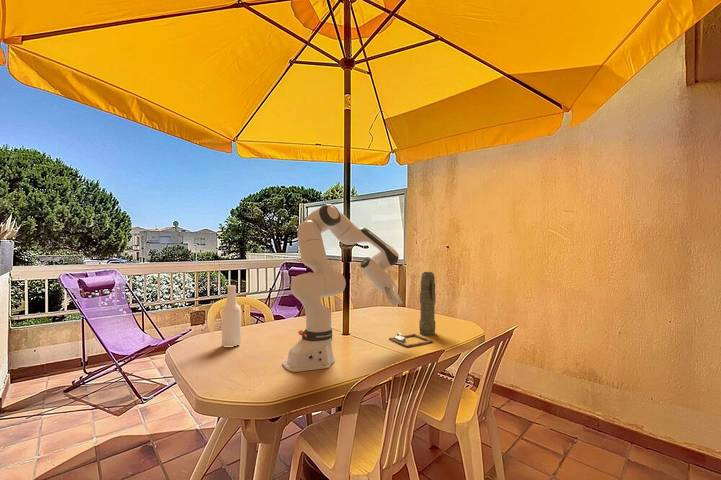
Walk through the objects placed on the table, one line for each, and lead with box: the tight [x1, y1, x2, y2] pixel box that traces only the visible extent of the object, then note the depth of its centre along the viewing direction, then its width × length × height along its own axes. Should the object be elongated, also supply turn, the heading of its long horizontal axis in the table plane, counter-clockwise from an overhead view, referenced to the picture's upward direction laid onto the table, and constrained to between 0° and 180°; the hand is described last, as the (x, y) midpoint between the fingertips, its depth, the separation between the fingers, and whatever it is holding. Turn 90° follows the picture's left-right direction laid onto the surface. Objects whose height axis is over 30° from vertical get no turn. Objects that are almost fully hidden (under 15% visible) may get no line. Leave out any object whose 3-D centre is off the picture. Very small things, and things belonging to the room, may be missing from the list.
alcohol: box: [221, 284, 242, 347], centre depth 171 cm, size 9×9×30 cm
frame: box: [388, 333, 433, 349], centre depth 181 cm, size 17×15×1 cm
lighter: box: [394, 332, 407, 343], centre depth 184 cm, size 7×2×8 cm
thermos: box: [418, 271, 437, 336], centre depth 197 cm, size 9×12×35 cm
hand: (401, 303), depth 179 cm, fingers closed
